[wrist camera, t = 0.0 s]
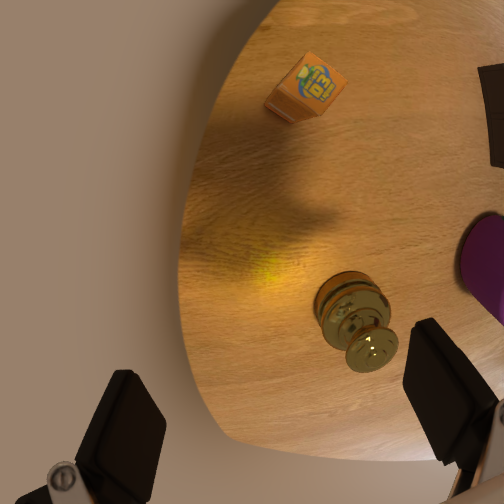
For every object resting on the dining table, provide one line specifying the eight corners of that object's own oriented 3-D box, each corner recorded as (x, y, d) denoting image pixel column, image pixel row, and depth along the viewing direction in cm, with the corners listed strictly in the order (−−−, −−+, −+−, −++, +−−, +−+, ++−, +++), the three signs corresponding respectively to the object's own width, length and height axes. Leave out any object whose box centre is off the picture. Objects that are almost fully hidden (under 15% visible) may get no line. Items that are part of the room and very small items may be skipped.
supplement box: (294, 127, 25) (319, 120, 15) (262, 105, 24) (270, 84, 15) (315, 100, 24) (351, 80, 14) (284, 77, 23) (304, 44, 14)
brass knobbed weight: (313, 331, 33) (331, 396, 23) (314, 273, 30) (339, 331, 21) (372, 324, 32) (404, 381, 23) (380, 267, 30) (424, 317, 20)
